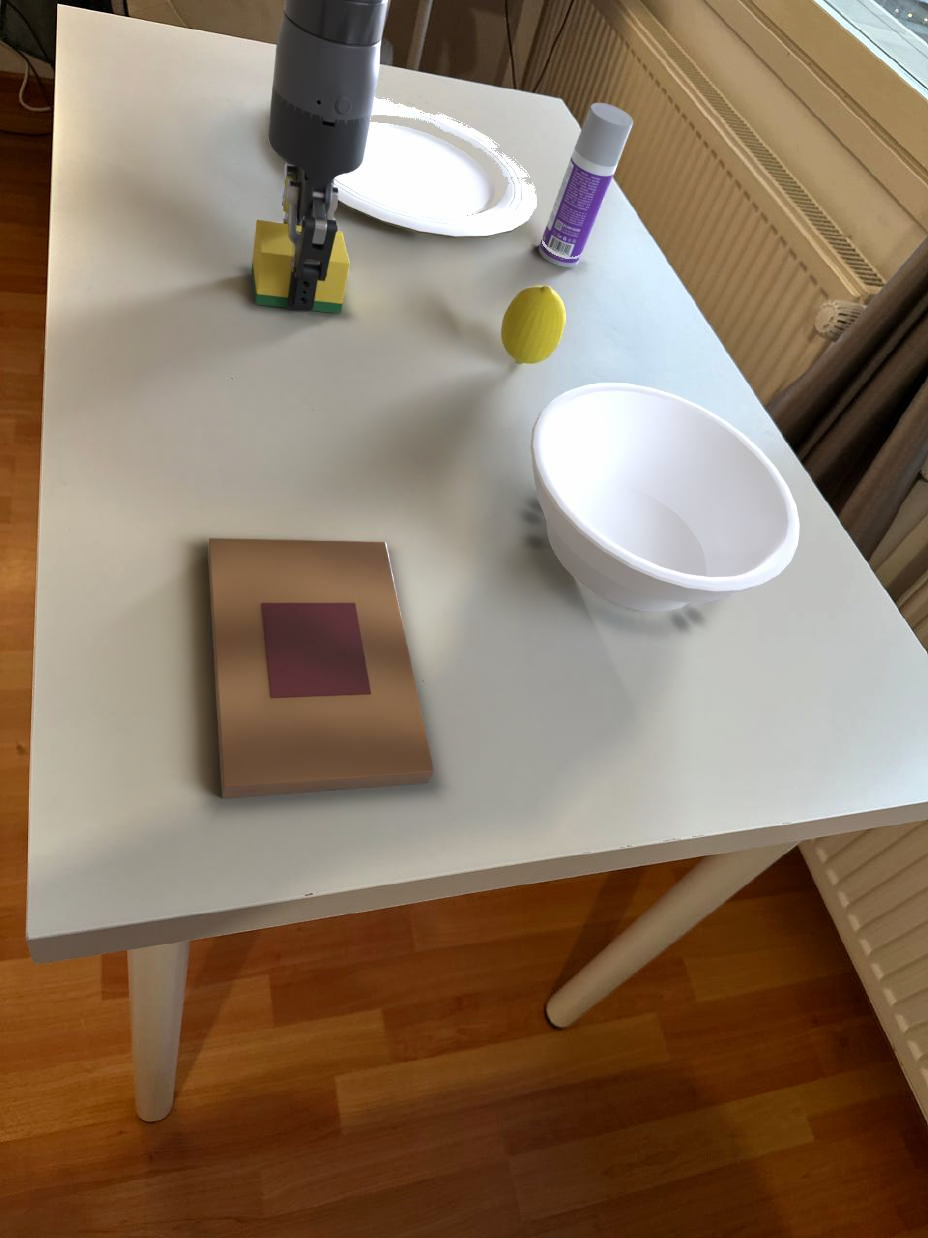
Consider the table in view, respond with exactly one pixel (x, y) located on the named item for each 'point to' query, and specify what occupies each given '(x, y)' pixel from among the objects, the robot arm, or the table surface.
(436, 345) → the table surface
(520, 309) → the lemon
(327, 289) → the sponge
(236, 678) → the board
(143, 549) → the table surface
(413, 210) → the plate
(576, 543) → the bowl
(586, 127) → the container
